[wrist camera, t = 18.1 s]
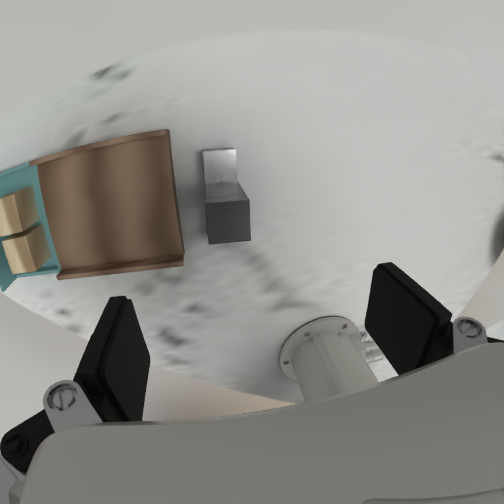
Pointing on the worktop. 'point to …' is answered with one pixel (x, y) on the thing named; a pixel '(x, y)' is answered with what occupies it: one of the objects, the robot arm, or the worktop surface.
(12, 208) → the oak block
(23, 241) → the oak block
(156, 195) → the walnut channel
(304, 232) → the worktop surface
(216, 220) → the grey stepped block
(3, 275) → the teal tray
